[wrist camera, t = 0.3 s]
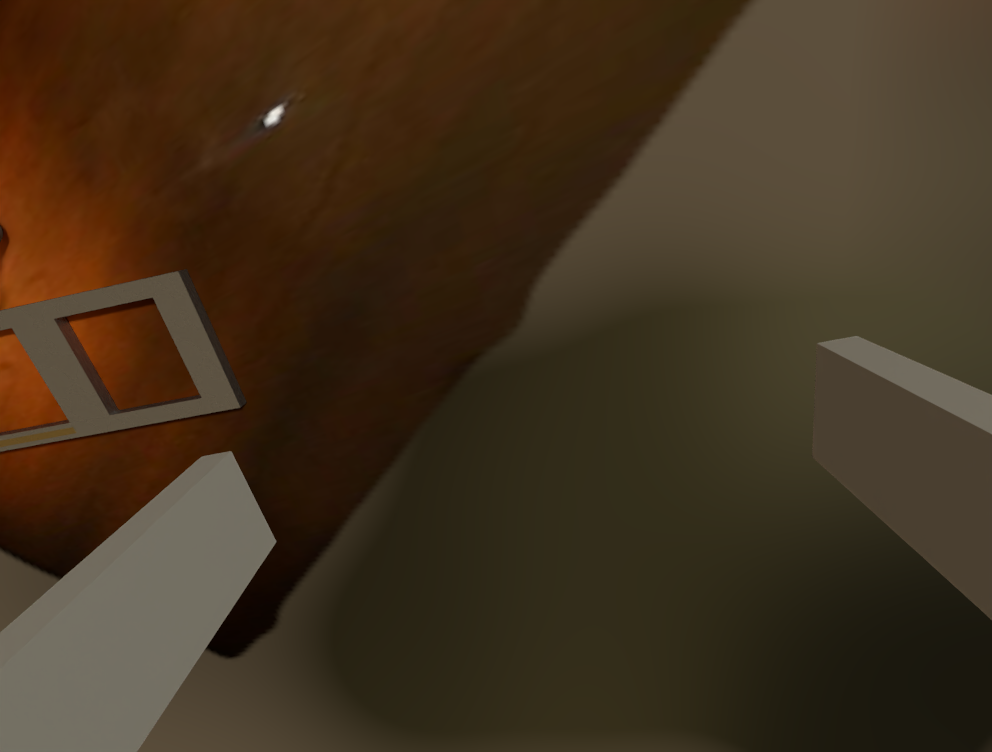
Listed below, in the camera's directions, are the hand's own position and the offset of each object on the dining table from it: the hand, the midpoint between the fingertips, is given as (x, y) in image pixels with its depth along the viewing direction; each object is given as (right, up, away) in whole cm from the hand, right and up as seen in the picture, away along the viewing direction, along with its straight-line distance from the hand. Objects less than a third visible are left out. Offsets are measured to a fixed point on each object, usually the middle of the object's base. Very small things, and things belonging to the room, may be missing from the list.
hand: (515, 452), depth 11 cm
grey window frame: (-38, +2, +30) cm, 48 cm away
